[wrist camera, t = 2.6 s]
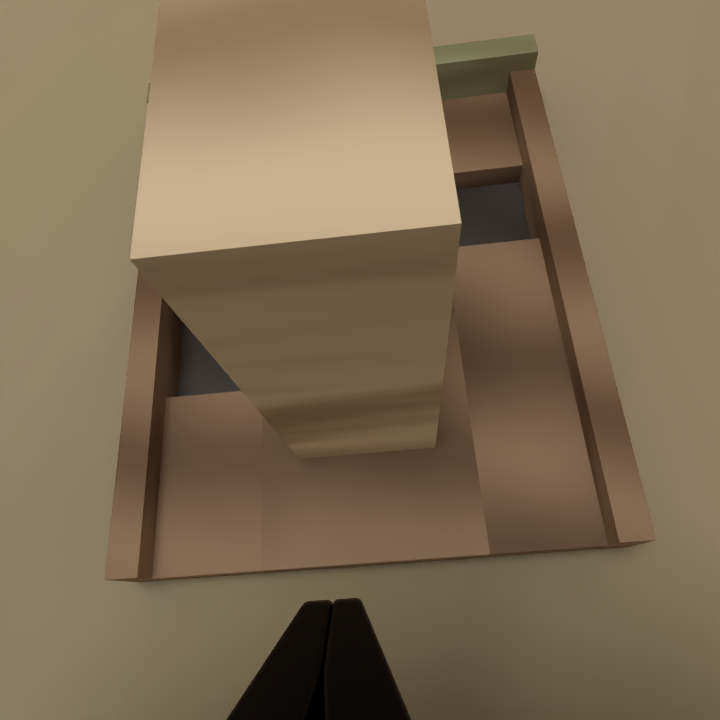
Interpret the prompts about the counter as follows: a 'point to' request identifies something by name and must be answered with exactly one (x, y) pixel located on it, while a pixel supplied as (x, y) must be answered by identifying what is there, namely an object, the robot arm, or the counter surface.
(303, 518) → the trap lane
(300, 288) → the beech block
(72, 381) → the counter surface
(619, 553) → the counter surface
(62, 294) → the counter surface
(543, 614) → the counter surface
